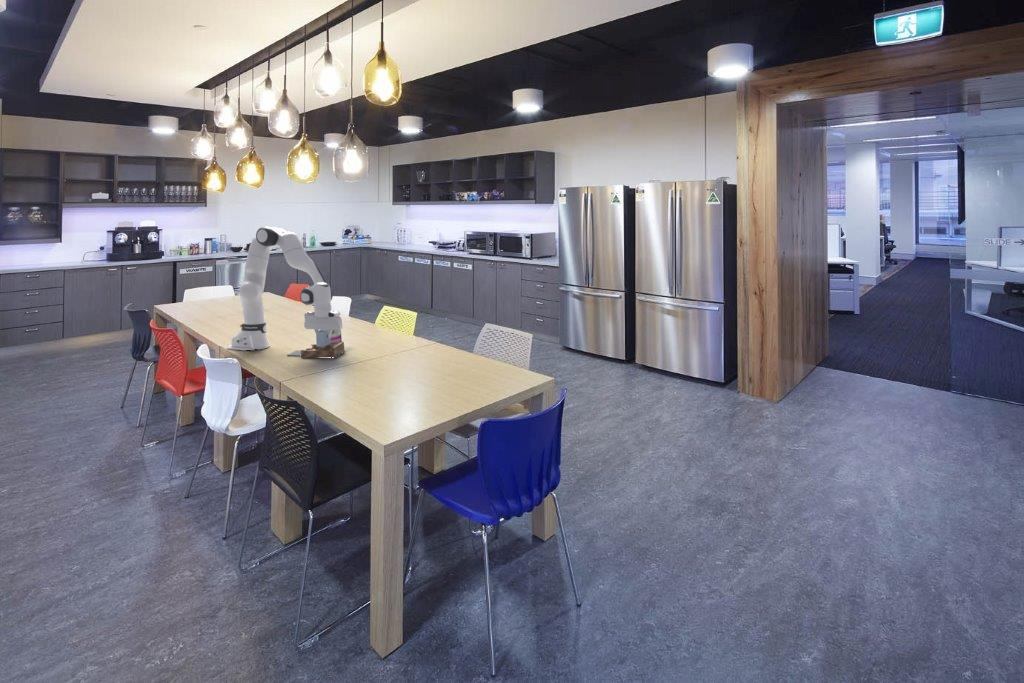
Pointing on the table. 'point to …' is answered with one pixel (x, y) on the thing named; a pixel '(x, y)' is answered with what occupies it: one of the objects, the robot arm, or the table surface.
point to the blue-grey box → (322, 338)
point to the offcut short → (309, 348)
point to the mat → (295, 353)
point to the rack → (324, 351)
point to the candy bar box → (335, 337)
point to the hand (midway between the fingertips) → (323, 337)
